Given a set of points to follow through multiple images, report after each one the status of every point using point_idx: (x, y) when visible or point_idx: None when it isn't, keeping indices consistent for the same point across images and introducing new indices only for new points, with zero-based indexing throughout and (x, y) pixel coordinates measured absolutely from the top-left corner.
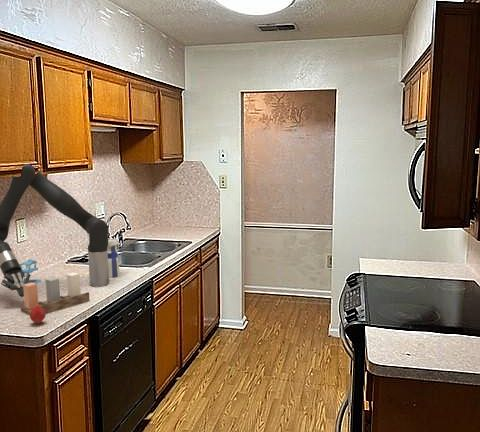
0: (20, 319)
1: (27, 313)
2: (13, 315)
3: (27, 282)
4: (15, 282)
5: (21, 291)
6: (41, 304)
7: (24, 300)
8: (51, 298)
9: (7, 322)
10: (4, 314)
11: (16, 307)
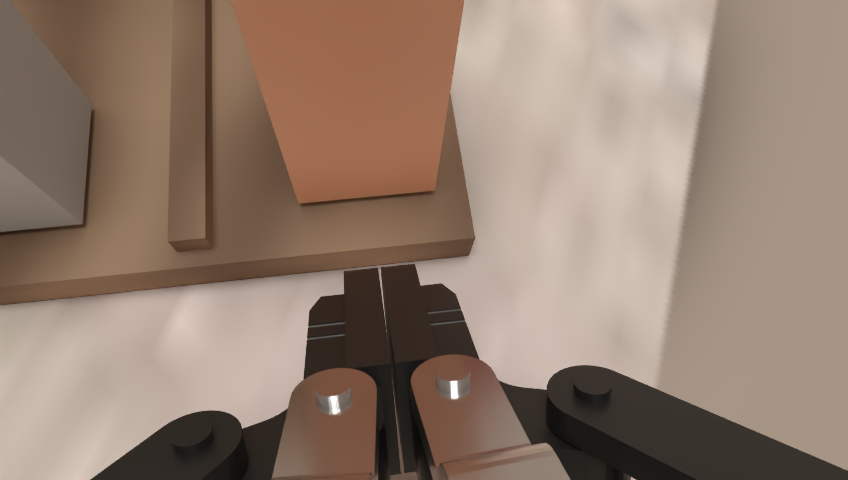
0: (553, 18)
1: None
2: (585, 176)
3: (122, 470)
4: (552, 454)
5: (420, 298)
6: (210, 162)
7: (441, 133)
8: (55, 60)
9: (682, 26)
10: (671, 284)
11: None
